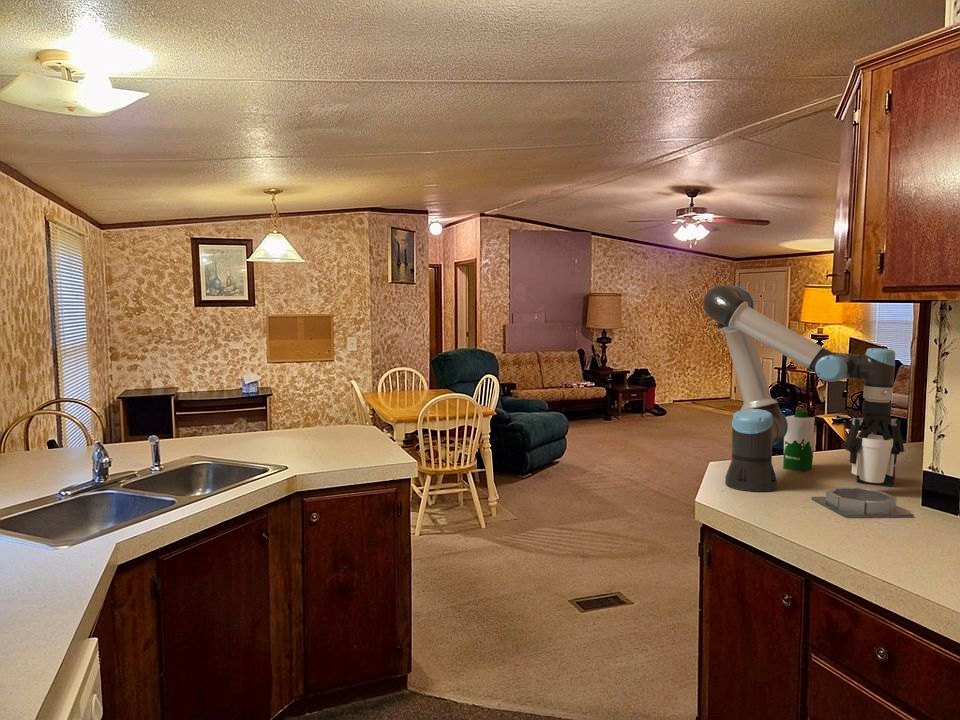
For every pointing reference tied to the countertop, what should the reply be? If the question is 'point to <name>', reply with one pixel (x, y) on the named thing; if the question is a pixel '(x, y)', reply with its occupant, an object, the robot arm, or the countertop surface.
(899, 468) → the countertop surface
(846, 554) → the countertop surface
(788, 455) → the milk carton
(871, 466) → the foam cup
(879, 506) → the ring seat
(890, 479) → the yellow black cube
